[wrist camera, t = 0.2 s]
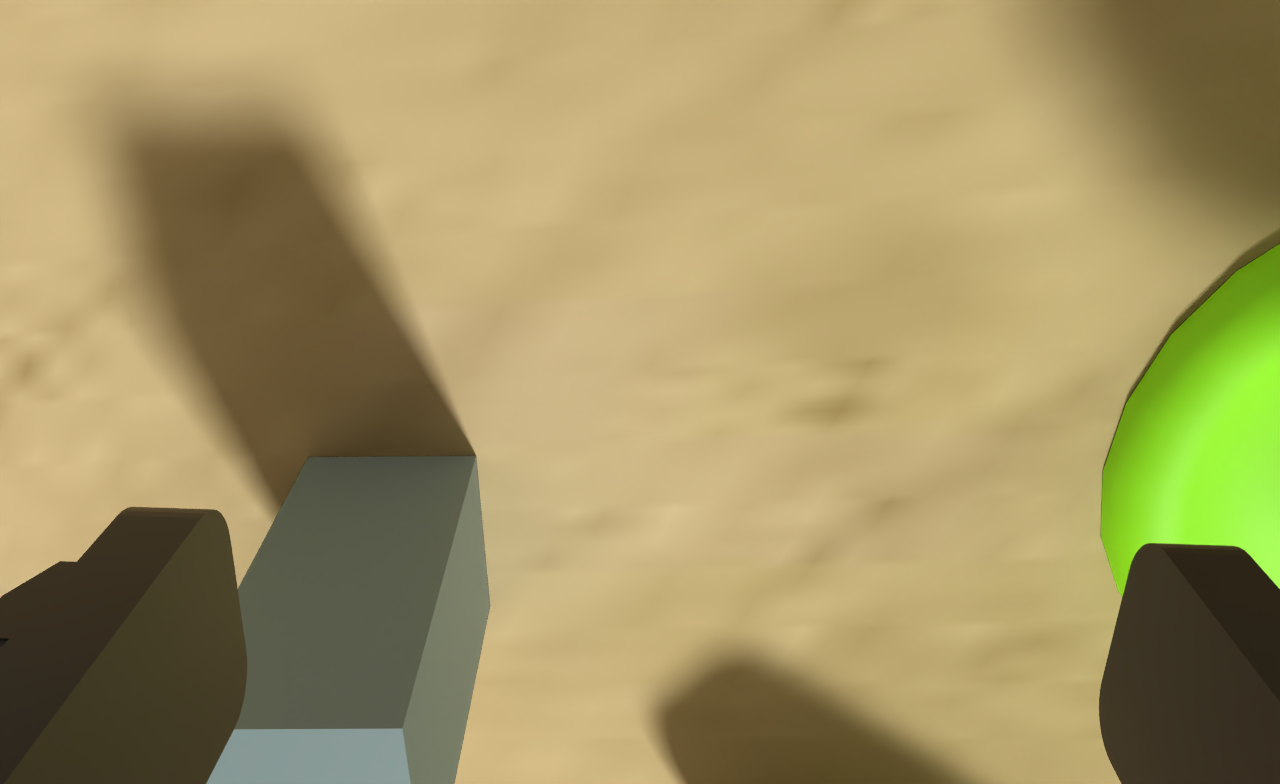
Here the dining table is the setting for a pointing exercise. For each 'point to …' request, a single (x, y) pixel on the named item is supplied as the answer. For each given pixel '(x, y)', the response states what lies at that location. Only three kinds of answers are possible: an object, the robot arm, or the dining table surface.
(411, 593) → the carton
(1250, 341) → the wineglass
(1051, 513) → the dining table surface
